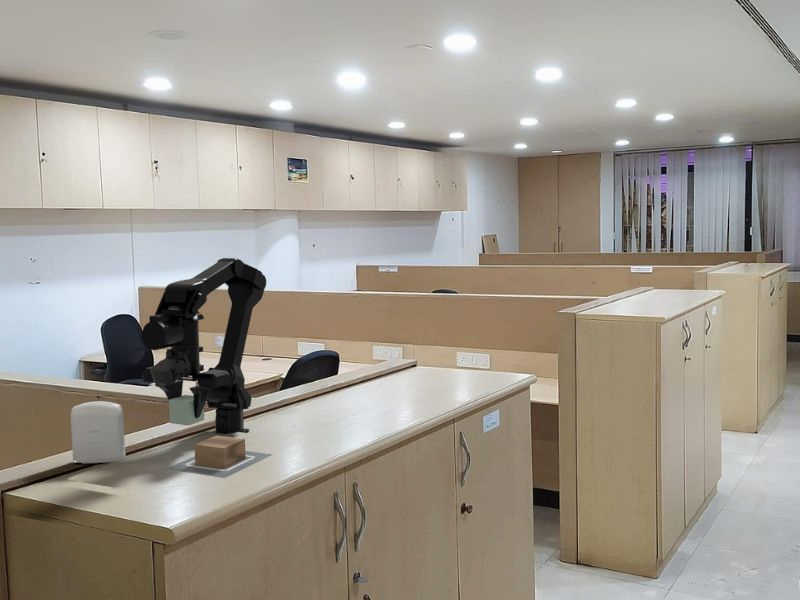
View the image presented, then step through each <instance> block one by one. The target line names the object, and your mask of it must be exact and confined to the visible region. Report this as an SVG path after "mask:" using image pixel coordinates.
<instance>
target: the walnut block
mask: <svg viewBox="0 0 800 600" xmlns="http://www.w3.org/2000/svg"><path fill="white" fill-rule="evenodd" d="M245 451H246V439H245V438H239V437H230V436H222V435H215V436H212V437H209V438H207V439H204V440H202V441H200V442H196V443H195V444H194V456H195V464H197V465H204V466H211V467H218V468H226V467H229V466H231V465H233V464H235V463H237V462H239V461H241V460H243V459H246V457H245Z"/></svg>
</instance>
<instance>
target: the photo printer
mask: <svg viewBox="0 0 800 600" xmlns="http://www.w3.org/2000/svg"><path fill="white" fill-rule="evenodd" d="M124 423H125V422H124V413H123V407H122V405H121V404H118V403H116V402H112V401H111V402H109V401H104V400H103V401H101V400H99V401H97V400H96V401H88V402H84V403H81V404H78V405H75V406H73V408H71V412H70V427H71V428H70V430H71V445H72V446H71V447H72V449H71V450H72V460H76V461H79V462H81V463H82V464H98V463H99V464H100V463H101V464H102V463H113V462H115V461H117V460H118V461H119V460H120V459H123V458H125V457H126V441H125V427H124V426H125V424H124Z"/></svg>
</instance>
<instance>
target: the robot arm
mask: <svg viewBox="0 0 800 600" xmlns="http://www.w3.org/2000/svg"><path fill="white" fill-rule="evenodd" d="M224 284H225V286H227V294H228V297H229V300H230V301H231V307H230V311H229V314H228V315H229V316H228V320H227V323H226V324H227V325H226V329H225V334H224V337H223V342H222V348H221V350H220V351H221V352H220V357H219V361H218V363H217V364H216V365H215V366H214V367H209V368H208V370H207V371H204V370H205V366H204V365H200V362H201V361H200V360H201V359H200V353H202V352H204V346H200V335H199V334H200V333H199V331H200V330H199V325H200V324H199V321H202V320H204V319H205V317H204V315H203V314H202V313H201V312H200V311H199V310H200V309H201V308H202V307H203V306H204V305H205V304H206V302H207V301H208V296H209V294H211V293H213V292H214V291H215V290H217V289H218V288H220V287H221V286H223V285H224ZM266 287H267V278H266V276H265V274H263V272H262V271H261V270H260V269H257V267H253V266H251V265H249V264H246V263H245V262H244V261H242V260H241V259H239V258H237V257H223V258H220V259H218V260H217V261H216V263H215V264H213V265H210V266H209V267H208V268H206V269H204V270H202V271H201V272H200V273H199V274H196V275H195V276H193V277H191V278H189V279H183V280H177V281H174V282H170V283H168V285H166V287H165V288H164V291H163V294H162V297H161V298H160V301H159V302H158V303H159V304H158V306H157V308H156V311H155V312H154V314H153V315H149V317H148V319H149V322H147V323H146V324H145V325H144V326H143V328H142V330H141V333H140V336H141V341H142V343H143V345H144V346H145V347H146V348H147V349H149V350H151V351H157V350H161V349H166V351H165V358H163V359H161V360H160V361H158V362H156V364H155V365H153V366H150V367H145V369H144V370H143V372H142V382H143V383H153V384H154V387H156V388H159V389H160V390H161V391H163V392H164V394H165V396H166V398H167V400H168V401H169V400H170V399H173V398H176V397H180V396H183V385H184V381H185V382H195V385H194V386H192V387H189V391H191V393H192V396H194V414H195V418H199V417H200V415H201V413H202V410H203V408H204V409H205V405H206V404H207V407H208V408H209V409H215V417H214V421H215V434H219V435H226V434H227V435H228V434H232V433H233V434H234V433H243V434H245V433H249V432H250V428H245V426H244V425H245V424H244V422H245V421H244V410H249V408H251V405H252V404H251V403H252V396H251V394H250V393H249V392H248V390H247V389H246V388H245V381H246V379H245V377H244V373H243V371H242V365H241V364H242V361H243V356H244V353H245V352H244V351H245V347H246V342H247V337H248V332H249V327H250V323H251V319H252V314H253V313H252V312H253V309H254V308H255V306H256V305H257V304H259V302H260V301H261V300H262V298H263V295H264V292H265V289H266Z"/></svg>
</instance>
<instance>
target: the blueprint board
mask: <svg viewBox="0 0 800 600" xmlns="http://www.w3.org/2000/svg"><path fill="white" fill-rule="evenodd" d="M271 456H273V454H272V453H264V452H257V451H249V450H245V457H246V459H243V460H241V461H239V462H237V463H235V464H233V465H231V466H229V467H226V468H218V467H211V466H204V465H197V464H195V455H194V456H192V457H190V458H187V459H185V460H182V461H179V462H178V463H176V464H174V465H171V466H169V467H166V468H165V470H171V471H178V472H184V473H190V474H197V475H204V476H209V477H211V476H212V477H215V478H216V477H218V478H224V479H226V478H228V477H230V476H232V475H235V474H236V473H239V472H240V471H243V470H244V469H247V468H249V467H250V466H252V465H255V464H256V463H259V462H260V461H263V460H265V459H267V458H269V457H271Z"/></svg>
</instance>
